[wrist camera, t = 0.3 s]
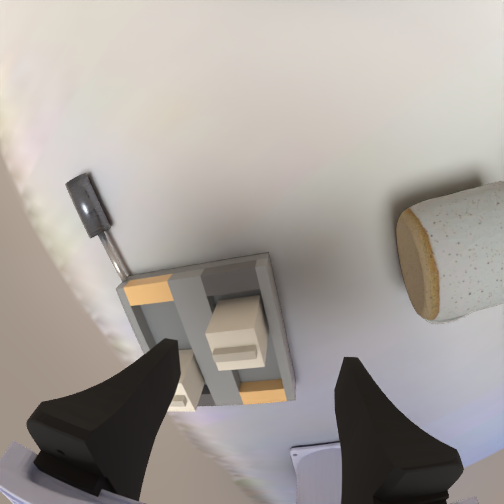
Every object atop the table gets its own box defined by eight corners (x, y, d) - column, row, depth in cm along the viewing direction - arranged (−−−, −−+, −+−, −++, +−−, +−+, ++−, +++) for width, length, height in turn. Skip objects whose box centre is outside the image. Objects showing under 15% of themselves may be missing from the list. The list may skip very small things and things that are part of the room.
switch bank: (295, 381, 26) (295, 400, 24) (177, 389, 28) (170, 405, 26) (268, 252, 22) (266, 265, 20) (128, 275, 24) (115, 288, 22)
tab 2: (268, 330, 23) (263, 373, 19) (228, 335, 23) (216, 376, 19) (260, 294, 22) (253, 334, 18) (218, 300, 22) (202, 339, 18)
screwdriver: (150, 293, 24) (142, 305, 23) (133, 299, 25) (124, 311, 23) (90, 171, 21) (77, 175, 19) (74, 182, 22) (60, 186, 20)
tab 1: (206, 376, 25) (193, 417, 21) (174, 378, 26) (157, 416, 22) (195, 349, 24) (179, 389, 20) (162, 351, 25) (142, 389, 21)
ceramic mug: (381, 196, 20) (427, 235, 13) (481, 170, 18) (549, 197, 11) (401, 325, 23) (431, 394, 16) (486, 296, 22) (532, 350, 14)
